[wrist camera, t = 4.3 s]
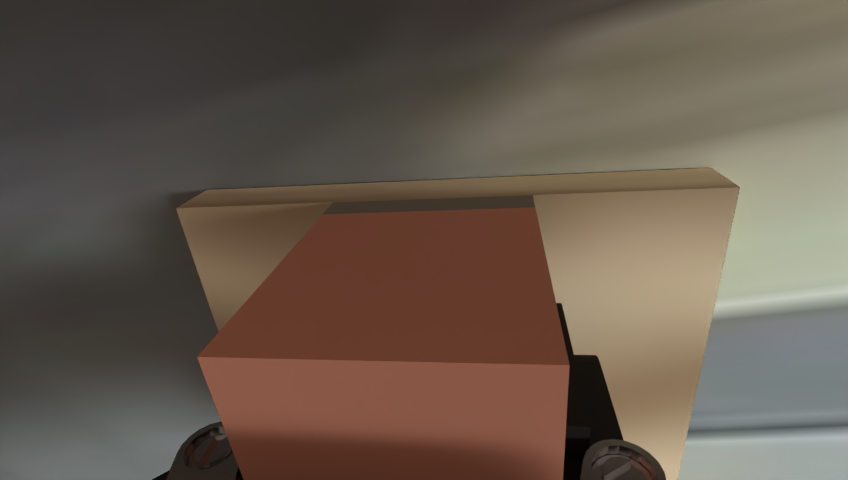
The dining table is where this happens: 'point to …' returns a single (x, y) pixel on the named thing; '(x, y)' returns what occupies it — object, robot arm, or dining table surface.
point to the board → (567, 261)
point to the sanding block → (399, 349)
